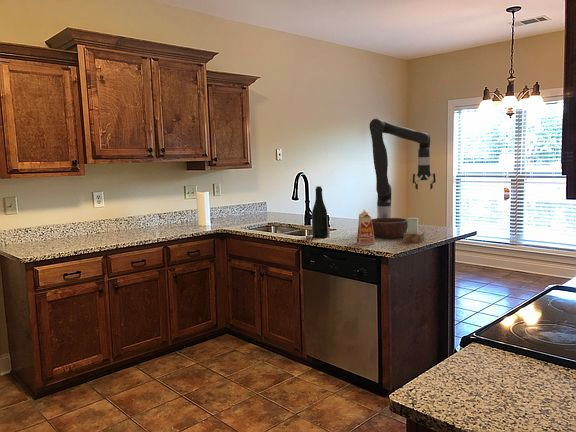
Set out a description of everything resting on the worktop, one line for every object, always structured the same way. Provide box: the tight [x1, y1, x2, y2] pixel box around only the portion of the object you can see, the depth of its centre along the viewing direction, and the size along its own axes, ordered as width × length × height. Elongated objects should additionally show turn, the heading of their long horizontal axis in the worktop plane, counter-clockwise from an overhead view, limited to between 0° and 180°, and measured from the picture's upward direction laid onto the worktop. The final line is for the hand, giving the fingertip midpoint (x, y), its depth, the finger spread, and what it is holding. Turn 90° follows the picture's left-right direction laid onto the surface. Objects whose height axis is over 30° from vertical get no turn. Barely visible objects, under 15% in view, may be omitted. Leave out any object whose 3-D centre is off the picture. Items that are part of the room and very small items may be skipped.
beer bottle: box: [311, 185, 329, 239], centre depth 311 cm, size 10×10×33 cm
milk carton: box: [355, 208, 375, 246], centre depth 282 cm, size 9×9×20 cm
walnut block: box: [402, 231, 425, 244], centre depth 285 cm, size 10×10×5 cm
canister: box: [406, 217, 419, 234], centre depth 285 cm, size 6×6×9 cm
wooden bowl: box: [371, 217, 408, 239], centre depth 306 cm, size 25×25×10 cm
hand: (424, 189), depth 310 cm, fingers open, 8 cm apart
